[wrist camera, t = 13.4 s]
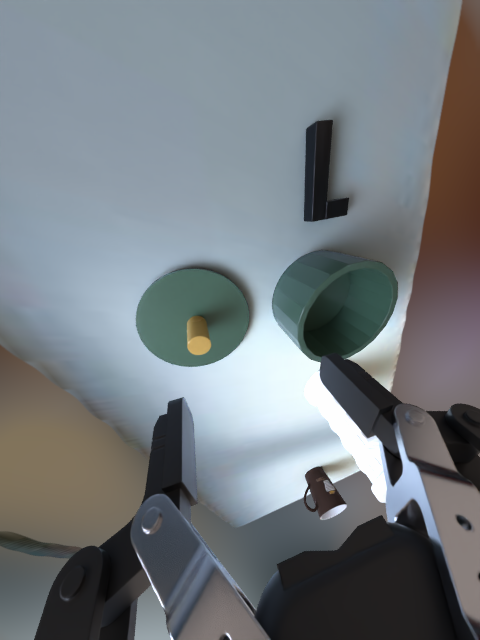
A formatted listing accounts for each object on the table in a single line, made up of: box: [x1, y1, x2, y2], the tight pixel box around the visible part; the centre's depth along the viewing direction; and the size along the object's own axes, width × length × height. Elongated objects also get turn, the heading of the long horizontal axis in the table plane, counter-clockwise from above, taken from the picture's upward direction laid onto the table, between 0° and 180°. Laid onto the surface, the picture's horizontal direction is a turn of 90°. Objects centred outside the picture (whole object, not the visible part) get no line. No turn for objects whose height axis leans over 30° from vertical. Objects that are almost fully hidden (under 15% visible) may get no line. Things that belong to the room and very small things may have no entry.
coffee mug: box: [304, 467, 347, 520], centre depth 58 cm, size 12×9×10 cm
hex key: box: [304, 120, 349, 222], centre depth 21 cm, size 8×5×2 cm, turn 8°
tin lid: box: [136, 268, 249, 367], centre depth 24 cm, size 15×15×6 cm
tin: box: [272, 250, 398, 362], centre depth 26 cm, size 14×14×8 cm
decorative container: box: [304, 370, 387, 503], centre depth 33 cm, size 12×12×18 cm
